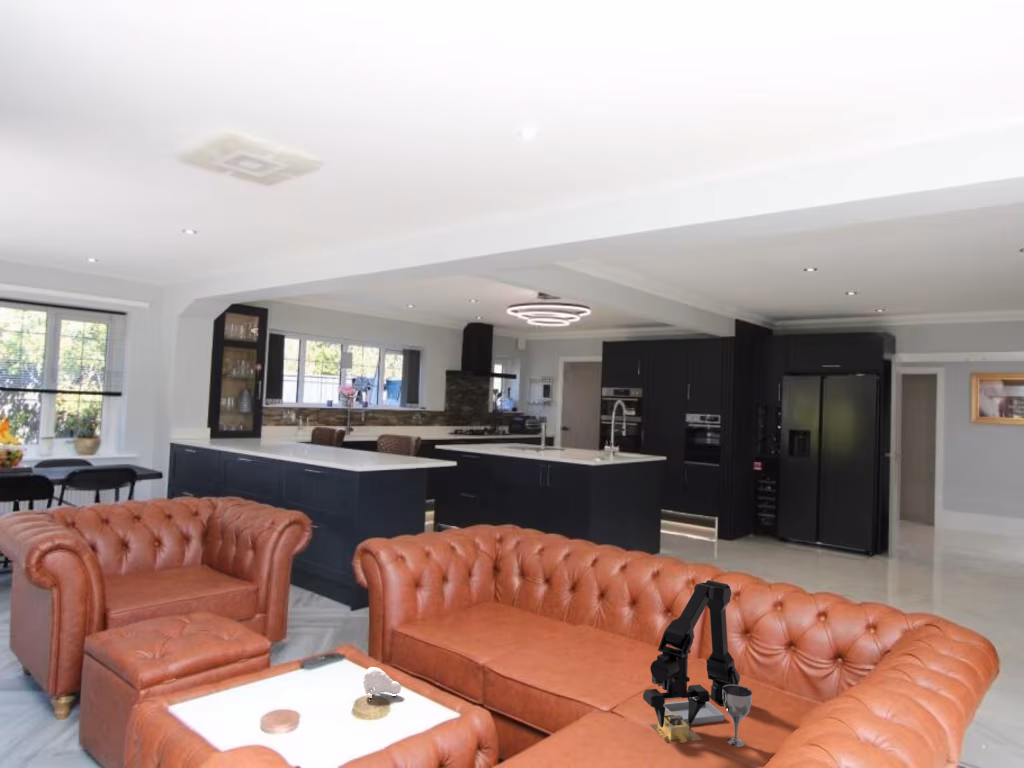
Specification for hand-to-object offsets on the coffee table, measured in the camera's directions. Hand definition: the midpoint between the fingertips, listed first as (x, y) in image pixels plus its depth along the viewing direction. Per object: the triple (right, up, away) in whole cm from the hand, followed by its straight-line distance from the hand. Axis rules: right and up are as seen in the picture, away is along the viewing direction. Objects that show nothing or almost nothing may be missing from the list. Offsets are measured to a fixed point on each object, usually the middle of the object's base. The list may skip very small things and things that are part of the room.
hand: (675, 725), depth 200 cm
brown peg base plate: (0, -2, 0) cm, 2 cm away
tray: (+7, -3, +11) cm, 13 cm away
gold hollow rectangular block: (-1, -2, 0) cm, 2 cm away
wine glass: (+16, -3, -5) cm, 17 cm away
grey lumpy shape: (-88, 0, +19) cm, 90 cm away
